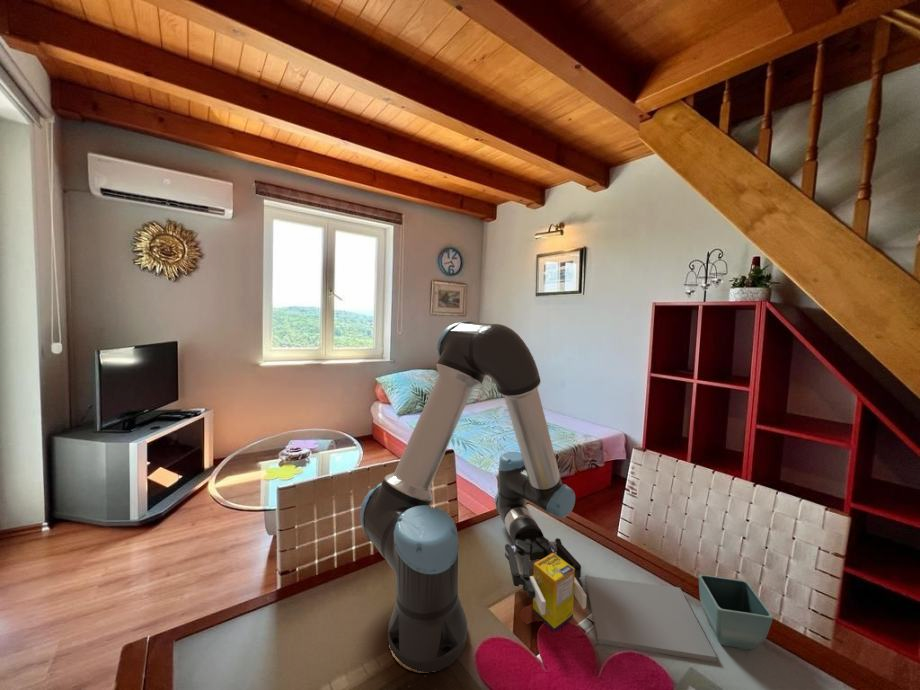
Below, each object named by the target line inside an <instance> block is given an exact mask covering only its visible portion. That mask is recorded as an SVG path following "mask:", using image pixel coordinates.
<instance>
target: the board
mask: <svg viewBox="0 0 920 690" xmlns="http://www.w3.org/2000/svg"><path fill="white" fill-rule="evenodd" d="M584 580H585V585H586V591H587V597H588V601H589V605H590V612H591V614H592V621H593V624H594V630H595V634H596V639H597V644H599V645H607V646H612V647H620V648H625V649H631V650H632V649H633V650H637V651H645V652H650V653H657V654H664V655H670V656H676V657H680V658H681V657H683V658H688V659H693V660H694V659H695V660H701V661H707V662H708V661H709V662H714V663H717V654H716V653H715V651H714V649H713V647H712V645H711V644H710V642H709V640H708V638H707V636H706V634H705V632H704V631H703V629H702V626H701V625H700V623H699V621H698V619H697V617H696V616H695V613H694V611H693V610H692V608H691V606H690V604H689V603H688V600H687V598H686V597H685V595H684V593H683V591H682V589H681V587H677V586H668V585H661V584H654V583H646V582H637V581H630V580H621V579H616V578H615V579H614V578H607V577H600V576H599V577H598V576H592V575H585V576H584Z"/></svg>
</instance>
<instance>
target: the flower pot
mask: <svg viewBox="0 0 920 690" xmlns="http://www.w3.org/2000/svg"><path fill="white" fill-rule="evenodd" d="M698 590H699V600H700V604H701V607H702V611H703V613H704V616H705V617H706V620H707V622H708V623H709V626H710V628H711V629H712V630H711V631H713V633H714V635H715V637H716V640H717V641H718V643H719V644H720V645H722V646H727V647H732V648H738V649H744V650H745V649H746V650H752V649H755V648H757V647H759V646H761V645H762V644H763V642H764V641H766V638H767V636H768V634H769V632H770V631H769V630H770V629H771V625H772V623H773V619H774V616H773V614H772V612H771V611H770V610H769V608H768V607H767V606H766V605H765V603H764V602H763V601H762V599H761V598H760V597H759V595H758V593H756V592H755V590H754V589H753V587H752V586H751V584H750V583H749V582H748V581H747V580H743V579H737V578H728V577H721V576H715V575H708V574H698Z"/></svg>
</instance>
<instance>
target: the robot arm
mask: <svg viewBox="0 0 920 690" xmlns="http://www.w3.org/2000/svg"><path fill="white" fill-rule="evenodd" d="M436 350H437V355H438V357H439V359H438V360H437V362H436V363H437V364H436V369H437V372H438V376H437V378H436V381H435V383H434V385H433V387H432V389H431V392H430V393H429V396H428V399H427V400H426V402H425V405H424V406H423V409H422V410H421V414H420V416H419V418H418V420H417V422H416V425H415V427H414V428H413V431H412V433H411V435H410V437H409V440H408V442H407V444H406V446H405V448H404V451H403V453H402V455H401V457H400V459H399V461H398V463H397V466H396V468H395V470H394V472H391V473H388V474H387V475H385V476H384V478H383V479H382V482H381V483H379V484H377V485H375V486H376V487H375V488H371V490H370V491H369V492H368V493H367V494H366V495H365V497H364V499H363V501H362V503H361V506H360V512H359V520H360V524H361V528H362V529H363V531H364V534H365V536H366V538H367V539H368V541H369V542H370V543H372V544H373V545H374V547H375V548H376V550H377V552H379V553H380V555H381V556H382V558H384V560H385V561H386V562H387V564H388V565H389V567H390V568H391V569H392V571H393V573H394V576H395V588H396V589H395V592H396V593H395V596H396V600H395V603H394V606H393V609H392V613H391V616H390V618H389V623H388V626H387V627H388V629H387V642H388V641H389V645H390V648H391V650H392V651H393V653H394V654H395V656H396V657H397V658H398V659H399V660H400V661H401V662H402V663H403V664H405V665H406V666H408V667H410V668H412V669H415V670H417V671H421V672H422V671H423V672H432V671H438V670H441V671H443V670H445V669H446V667H447V666H448V667H450V666H452V665H453V664H454V663H455V662H456V661H457V660H458V659H459V658H460V656H461V655H462V653H463V652H462V651H464V650H463V649H465V647H466V644H467V641H466V640H467V639H468V622H467V616H466V614H465V610H464V608H463V605H462V603H461V599H460V597H459V595H458V594H459V593H458V592H459V590H458V589H459V588H458V587H459V585H458V584H459V581H458V580H459V577H458V576H459V575H458V574H459V548H460V547H459V546H460V545H459V543H460V542H459V539H458V538H459V537H458V530H457V525H456V522H455V521H454V519H453V517H451V515H450V514H449V513H448V512H446V511H445V510H443V509H442V508H440V507H436V506H435V507H432V506H431V503H432V501H433V494H432V492H431V486H432V483H433V481H434V478H435V476H436V474H437V472H438V469H439V467H440V465H441V462H442V460H443V459H444V456H445V454H446V451H447V448H448V447H449V443H450V442H451V439H452V437H453V435H454V432H455V431H456V428H457V425H458V423H459V421H460V419H461V417H462V414H463V411H464V410H465V407H466V405H467V402H468V400H469V398H470V395H471V393H472V390H474V389H476V388H478V387H481V386H482V384H483V382H484V380H485V377H486V376H488V377H489V378H490V379H491V380H492V381H493V382H494V384H495V387H496V389H497V392H498V394H499V395H500V396H503V397H504V400H505V404H506V407H507V411H508V414H509V417H510V421H511V425H512V427H513V428H512V429H513V431H514V434H515V438H516V441H517V445H518V447H519V451H520V452H518V451H506V452H504V453H502V454H501V455H500V456H499V462H498V469H497V470H498V491H497V493H496V494H495V496H494V505H495V508H496V511H497V513H498V515H499V516H500V518H501V520H502V523H503V524H504V526H505V529H506V531H507V534H508V535H509V538H510V539H511V542H512V544H513V545H510V544H509V543H508V544H507V543H505V545H504V557H505V559H507V561H508V564H509V569H510V572H511V578H512V579H511V580H512V583H513V586H515V587H519V586H522V590H523V591H524V592H526V594H527V596H528V597H529V598H530V599H533V598H534V600H535V602H536V604H537V606H538V608H539V611H540V613H541V615H545V607H546V601H545V599H544V597H543V595H542V593H541V591H540V589H539V587H538V585H537V583H536V581H535V579H534V575H531V576H530V570H531V569H530V567H531V562H533V561H536V560H537V561H539V560H541V559H543V558H545V557H546V556H548V555H550V554H552V553H554V554H556V555H557V556H558V557H560V558H561V559H562V560H564V561H565V562H566V563H568V564H569V565H570V566H572V567H573V568H574V569H575V577H574V598H576V601H577V602H578V604H579V605H580V607H581V609H587V597H588V594H586V592H585V591H584V589H583V582H582V580H581V579H580V578H581V577H582V565H581V564H580V562H579V561H578V560H577V559H576V558H575V557H574V556H573V555H572V554H571V553H570V552H569V551H568V549H567V548H566V547H565V546H564V544H563V543H562V541H561V539H560V538H555V541H549V539H548V538H546V537H545V536H544V533H543V532H542V529H541V528H540V526H539V524H538V523H537V522H536V519H535V518H534V516H533V515H532V513H531V512H530V510H529V509H528V507H527V503H526V502H527V501H529V502H530V503H531V504H533V505H534V506H536V507H537V508H539V509H542V510H543V511H545V512H546V513H547V514H550V515H553V516H554V517H555V518H558V519H564V518H566V517H567V516H568V515H570V514H571V512H572V511H573V509H574V506H575V504H576V494H575V491H574V490H573V488H571V487H569V486H568V485H567V484H563V482H562V479H561V474H560V471H559V467H558V463H557V460H556V455H555V451H554V448H553V447H554V446H553V444H552V440H551V436H550V432H549V427H548V424H547V420H546V419H547V418H546V417H545V416H546V415H545V412H544V409H543V403H542V400H541V396H540V392H539V390H538V388H539V387H540V385H541V376H540V373H539V370H538V367H537V363H536V361H535V359H534V357H533V354H532V353H531V351H530V349H529V347H528V345H527V344H526V342H525V340H523V339H522V338H521V336H520V335H519V334H518V333H517V332H516V331H514V330H513V329H512V328H510V327H508V326H506V325H504V324H498V323H483V322H474V321H469V320H467V321H461V322H460V321H459V322H455V323H452V324H450V325H449V326H447V327H446V328H445V329H444V330H443V331H442V332H441V334H440V335H439V338H438V340H437V345H436ZM516 554H517V555H520V556H521V557H523V568H522V569H523V570H522V573H520V570H519V565H518V562H517V558H516ZM389 645H388V646H389ZM460 654H461V655H460ZM457 658H458V659H457ZM448 667H447V668H448ZM444 668H445V669H444ZM442 669H443V670H442ZM438 672H439V671H438Z"/></svg>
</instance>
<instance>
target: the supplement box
mask: <svg viewBox="0 0 920 690" xmlns="http://www.w3.org/2000/svg"><path fill="white" fill-rule="evenodd" d="M533 577H534V579H535V581H536V583H537V585H538V587H539V589H540V591H541V593H542V595H543V597H544V599H545V601H546V607H545V615H541V613H540V611H539V608H538V606H537V604H536V602H535V600H534V598H532V612H533V613H534V614H535V615H536V616H537V617H538V618H539V619H540V620H541V621H542V622H544V624H545V625H546V626H548V628H550V629H551V631H553V632H556V631H558V630H559V629H560V628H561V627H563V626H564V625H565V624H566V623H567V622H569V621H570V620H572V619H573V618H574V602H575V601H574V599H575V595H574V577H575V569H574V568H573V567H572V566H570V565H569V564H568V563H566V562H565V561H564V560H562V559H561V558H560V557H558V556H557V555H556V554H554V553H552V554H550V555H548V556H546V557H545V558H543V559H541V560H537V561H535V562H534V563H533Z"/></svg>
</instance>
